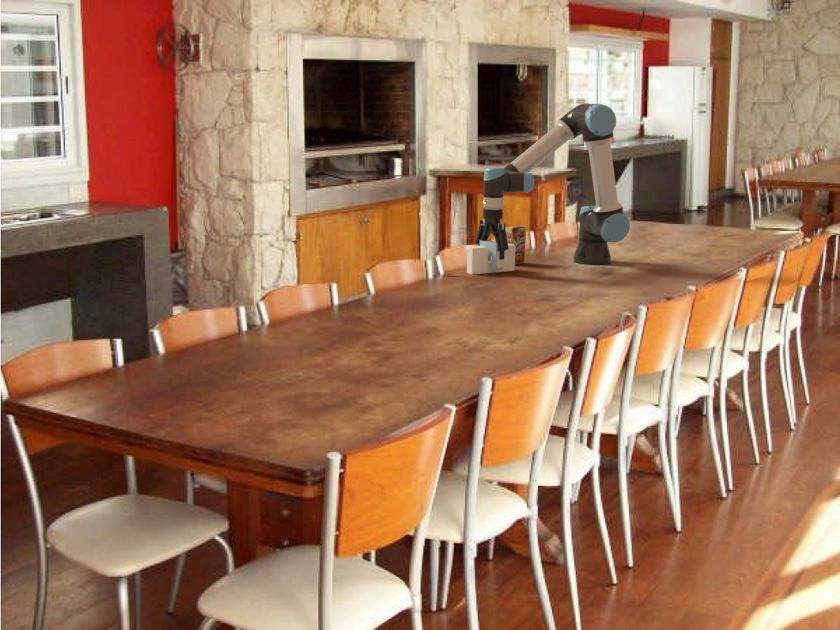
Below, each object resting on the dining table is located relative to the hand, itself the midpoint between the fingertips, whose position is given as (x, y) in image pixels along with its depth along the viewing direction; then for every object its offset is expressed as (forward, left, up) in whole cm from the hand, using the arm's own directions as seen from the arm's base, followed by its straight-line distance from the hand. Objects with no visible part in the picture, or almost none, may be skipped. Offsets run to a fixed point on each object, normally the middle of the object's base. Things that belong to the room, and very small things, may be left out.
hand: (491, 265), depth 419 cm
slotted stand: (0, 0, -3) cm, 3 cm away
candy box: (-11, -19, -3) cm, 22 cm away
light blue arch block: (0, 0, -1) cm, 1 cm away
